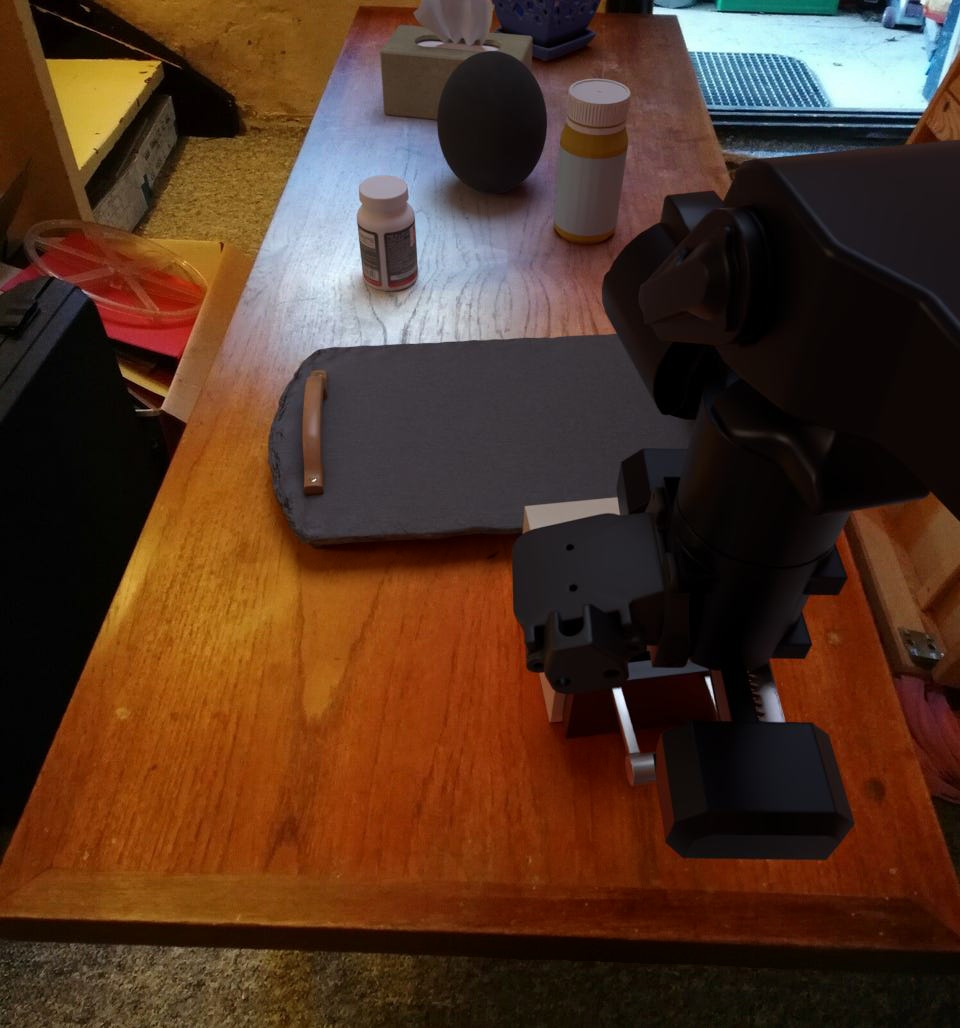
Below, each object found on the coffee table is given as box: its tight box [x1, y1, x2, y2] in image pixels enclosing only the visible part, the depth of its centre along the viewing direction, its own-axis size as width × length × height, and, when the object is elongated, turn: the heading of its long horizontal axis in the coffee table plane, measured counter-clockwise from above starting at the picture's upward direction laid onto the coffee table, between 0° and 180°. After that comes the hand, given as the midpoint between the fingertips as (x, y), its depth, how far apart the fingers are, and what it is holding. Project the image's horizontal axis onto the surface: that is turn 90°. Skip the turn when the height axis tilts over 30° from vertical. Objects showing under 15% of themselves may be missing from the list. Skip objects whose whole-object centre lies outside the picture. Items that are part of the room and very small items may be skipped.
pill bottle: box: [356, 174, 419, 292], centre depth 85 cm, size 6×6×10 cm
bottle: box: [553, 78, 632, 245], centre depth 90 cm, size 7×7×15 cm
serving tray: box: [267, 333, 695, 550], centre depth 70 cm, size 39×23×6 cm, turn 95°
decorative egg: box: [436, 51, 548, 194], centre depth 96 cm, size 12×12×15 cm
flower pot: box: [491, 0, 602, 62], centre depth 128 cm, size 13×13×12 cm
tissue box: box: [379, 0, 533, 121], centre depth 111 cm, size 19×10×16 cm, turn 79°
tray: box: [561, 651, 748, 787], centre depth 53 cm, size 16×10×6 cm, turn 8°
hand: (677, 722), depth 42 cm, fingers open, 9 cm apart
